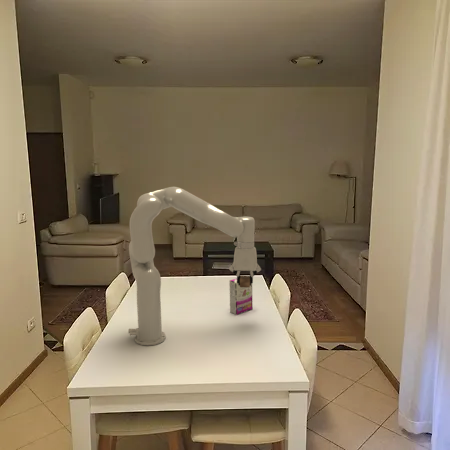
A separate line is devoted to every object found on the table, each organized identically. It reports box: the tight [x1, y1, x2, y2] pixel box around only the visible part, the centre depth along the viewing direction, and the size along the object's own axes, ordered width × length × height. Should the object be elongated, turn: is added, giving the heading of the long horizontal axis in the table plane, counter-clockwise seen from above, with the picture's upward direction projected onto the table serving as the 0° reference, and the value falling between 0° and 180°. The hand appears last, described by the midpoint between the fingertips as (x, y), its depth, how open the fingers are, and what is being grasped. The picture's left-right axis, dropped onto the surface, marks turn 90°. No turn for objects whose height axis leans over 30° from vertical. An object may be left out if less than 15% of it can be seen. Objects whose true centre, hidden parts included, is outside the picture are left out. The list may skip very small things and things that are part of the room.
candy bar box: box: [229, 277, 253, 316], centre depth 196 cm, size 11×5×16 cm, turn 131°
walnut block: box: [240, 275, 250, 287], centre depth 180 cm, size 4×4×4 cm
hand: (244, 284), depth 180 cm, fingers closed on walnut block, 4 cm apart
